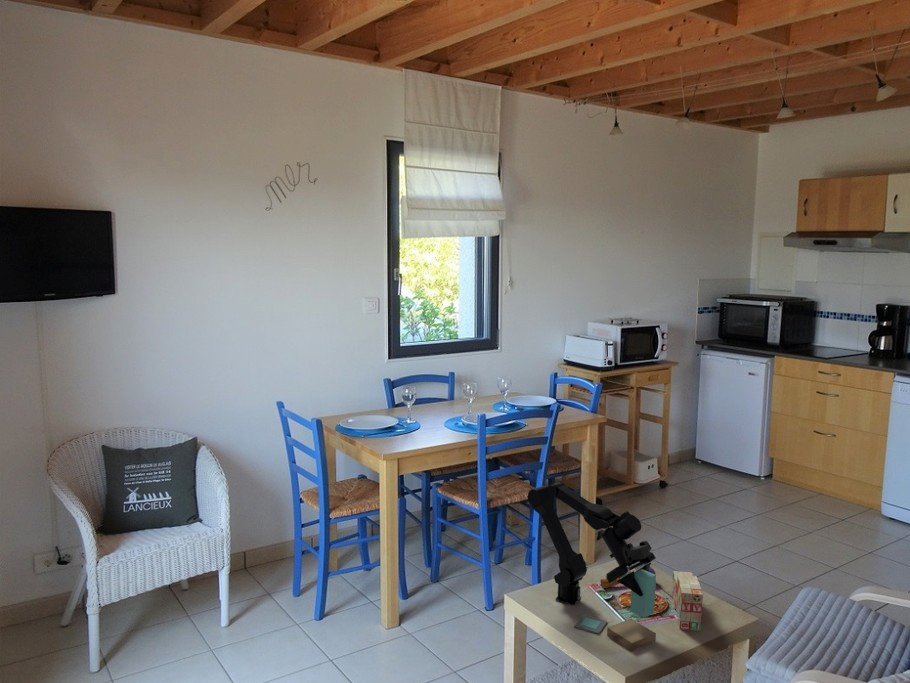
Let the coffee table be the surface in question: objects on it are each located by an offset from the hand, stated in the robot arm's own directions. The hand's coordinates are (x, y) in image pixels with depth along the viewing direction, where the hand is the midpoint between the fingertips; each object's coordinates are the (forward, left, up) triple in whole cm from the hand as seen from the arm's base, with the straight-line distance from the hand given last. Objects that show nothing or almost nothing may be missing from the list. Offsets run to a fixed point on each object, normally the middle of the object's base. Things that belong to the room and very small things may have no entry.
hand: (647, 593), depth 217 cm
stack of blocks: (+8, +20, -14) cm, 25 cm away
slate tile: (-16, -3, -13) cm, 21 cm away
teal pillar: (-1, 0, -7) cm, 7 cm away
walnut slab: (-3, -4, -14) cm, 15 cm away
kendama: (-14, +30, -14) cm, 36 cm away
